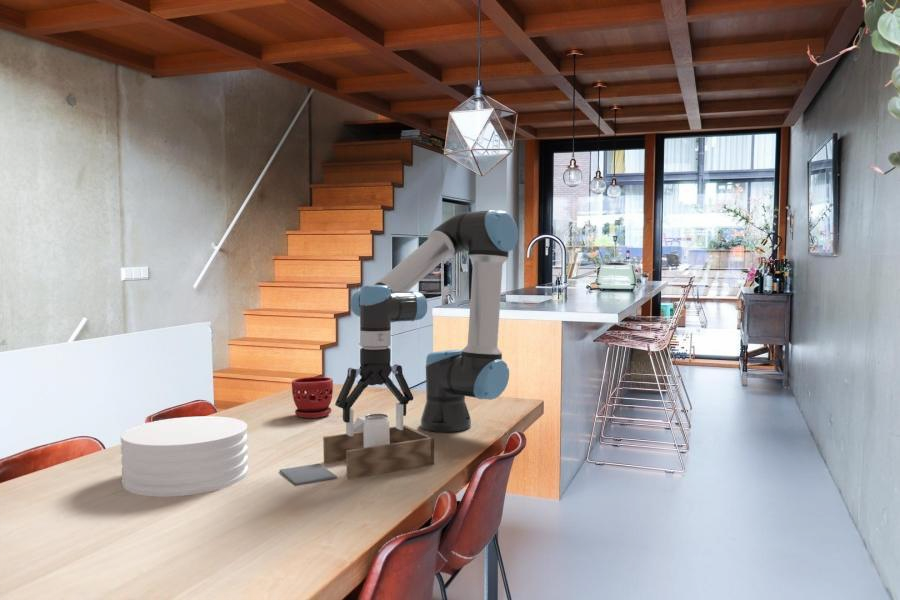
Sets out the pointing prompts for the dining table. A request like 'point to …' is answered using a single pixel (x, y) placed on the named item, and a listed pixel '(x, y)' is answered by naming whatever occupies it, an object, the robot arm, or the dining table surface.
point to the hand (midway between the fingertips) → (375, 432)
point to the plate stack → (184, 455)
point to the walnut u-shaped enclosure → (380, 452)
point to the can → (376, 430)
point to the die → (358, 424)
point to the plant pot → (312, 396)
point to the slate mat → (307, 474)
